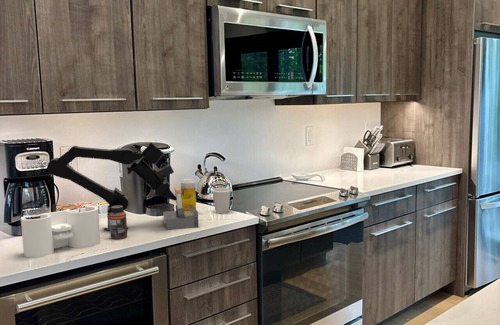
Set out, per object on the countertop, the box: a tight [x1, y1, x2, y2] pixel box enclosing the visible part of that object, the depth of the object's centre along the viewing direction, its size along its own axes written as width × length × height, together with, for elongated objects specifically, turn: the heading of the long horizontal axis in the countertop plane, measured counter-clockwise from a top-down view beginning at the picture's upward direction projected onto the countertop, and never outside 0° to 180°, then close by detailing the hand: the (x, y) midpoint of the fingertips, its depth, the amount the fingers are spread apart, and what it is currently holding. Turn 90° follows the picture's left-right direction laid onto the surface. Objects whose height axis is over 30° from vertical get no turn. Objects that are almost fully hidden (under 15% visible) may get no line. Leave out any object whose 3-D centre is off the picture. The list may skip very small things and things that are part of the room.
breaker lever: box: [174, 187, 182, 211], centre depth 192 cm, size 2×5×9 cm, turn 15°
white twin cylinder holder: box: [20, 205, 101, 259], centre depth 164 cm, size 25×10×12 cm, turn 132°
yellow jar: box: [180, 178, 197, 210], centre depth 210 cm, size 6×6×15 cm
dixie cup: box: [211, 187, 232, 215], centre depth 213 cm, size 8×8×10 cm
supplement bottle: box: [109, 205, 128, 240], centre depth 176 cm, size 6×6×11 cm
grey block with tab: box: [162, 204, 199, 231], centre depth 193 cm, size 12×14×7 cm
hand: (176, 199), depth 192 cm, fingers closed, pressing on breaker lever
